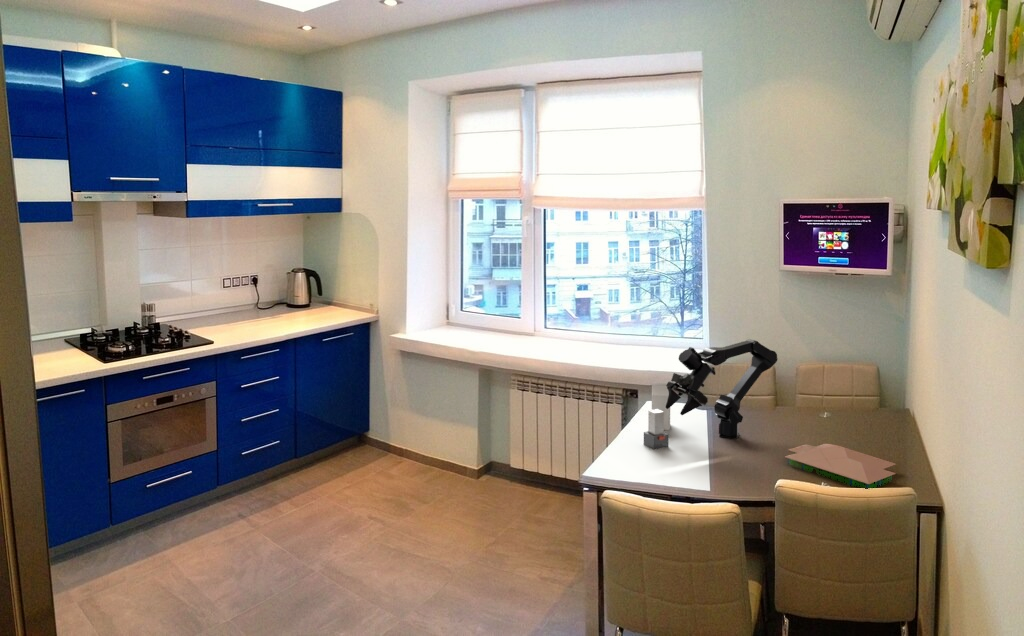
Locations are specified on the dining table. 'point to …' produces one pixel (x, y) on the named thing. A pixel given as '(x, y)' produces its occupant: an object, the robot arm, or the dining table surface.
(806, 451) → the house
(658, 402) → the milk carton
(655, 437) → the stand
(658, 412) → the post
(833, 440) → the dining table surface
